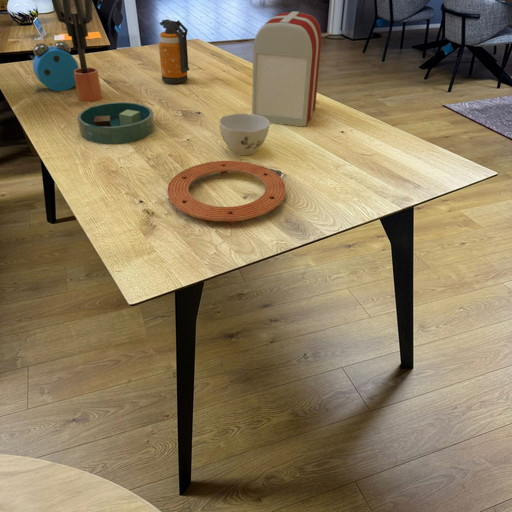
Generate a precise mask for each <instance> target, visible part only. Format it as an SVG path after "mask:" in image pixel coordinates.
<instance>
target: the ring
mask: <svg viewBox="0 0 512 512" xmlns="http://www.w3.org/2000/svg"><path fill="white" fill-rule="evenodd" d="M229 172H231V173H232V172H233V173H242V174H245V175H248V176H252V177H253V178H256V179H257V180H258V181H260V182H261V183H262V184H263V186H264V192H263V194H262V195H261V196H260V197H258V198H257V199H255V200H253V201H252V202H249V203H245V204H241V205H236V206H235V205H234V206H216V205H210V204H208V203H207V204H206V203H203V202H201V201H199V200H197V199H195V197H194V196H192V195H191V193H190V186H191V185H192V184H193V183H194V182H195V181H196V180H198V179H200V178H201V177H204V176H207V175H210V174H215V173H220V174H221V175H227V174H228V173H229ZM166 190H167V192H166V193H167V197H168V200H169V201H170V203H171V204H172V205H173V206H174V207H175V208H176V209H177V210H179V211H180V212H181V213H183V214H185V215H188V216H190V217H192V218H196V219H200V220H206V221H210V222H211V221H212V222H227V223H228V224H234V223H236V222H237V221H245V220H251V219H254V218H258V217H261V216H263V215H265V214H267V213H270V212H272V211H273V210H275V209H277V208H278V207H279V206H280V205H281V204H282V203H283V202H284V200H285V198H286V196H287V195H286V194H287V187H286V183H285V182H284V180H283V179H282V177H281V176H280V175H278V173H276V172H275V171H273V170H271V169H269V168H267V167H265V166H263V165H260V164H256V163H252V162H247V161H240V160H217V161H209V162H204V163H200V164H197V165H194V166H191V167H188V168H185V169H183V170H182V171H180V172H178V173H177V174H175V175H174V176H173V177H172V178H171V179H170V181H169V182H168V185H167V189H166Z"/></svg>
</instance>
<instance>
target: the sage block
mask: <svg viewBox="0 0 512 512" xmlns="http://www.w3.org/2000/svg"><path fill="white" fill-rule="evenodd" d="M119 118H120V124H121V126H124V125H130V124H134V123H137V122H140V121H141V119H140V112H139V111H133V110H126V111H124V112H122V113H120V114H119Z"/></svg>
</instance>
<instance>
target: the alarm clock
mask: <svg viewBox="0 0 512 512" xmlns="http://www.w3.org/2000/svg"><path fill="white" fill-rule="evenodd" d="M71 51H72V50H71V46H70V45H69V44H68V43H67V42H66V41H65V40H58V41H56V42H55V43H54V44H53V43H48V44H47V43H44V42H38V43H35V46H34V47H33V54H34V58H33V60H32V61H33V62H32V68H33V74H34V75H35V77H36V78H37V80H38V81H39V82H40V83H41V84H42V85H44V86H45V87H46V88H47V89H48V90H51V91H54V92H64V91H69V90H71V89H73V88H74V86H76V83H75V78H74V73H73V71H74V70H75V69H79V68H80V66H79V64H78V62H77V60H76V58H75V57H74V56H73V55H72V54H70V52H71Z"/></svg>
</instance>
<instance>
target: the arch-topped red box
mask: <svg viewBox="0 0 512 512" xmlns="http://www.w3.org/2000/svg"><path fill="white" fill-rule="evenodd" d="M321 50H322V31H321V27H320V24H319V21H318V20H317V19H316V17H314V16H313V15H311V14H308V13H302V12H300V11H294V10H293V11H291V12H290V11H289V12H281V13H278V14H275V16H273V17H271V18H270V19H268V20H267V21H266V22H265V23H264V24H263V25H262V26H261V27H260V28H259V29H258V31H257V33H256V35H255V37H254V41H253V46H252V95H251V97H252V98H251V99H252V100H251V114H255V115H260V116H263V117H265V118H266V119H267V120H269V122H272V123H281V124H288V125H287V126H289V125H297V126H296V127H298V126H306V125H307V126H308V124H309V122H310V120H311V119H310V117H311V116H312V117H313V114H314V112H315V110H316V105H317V95H318V82H319V81H318V80H319V72H320V71H319V70H320V61H321ZM314 109H315V110H314ZM313 111H314V112H313ZM312 113H313V114H312ZM312 117H311V118H312ZM309 119H310V120H309ZM308 121H309V122H308ZM272 123H271V124H272ZM307 123H308V124H307ZM281 124H280V125H281ZM307 126H306V127H307Z"/></svg>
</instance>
